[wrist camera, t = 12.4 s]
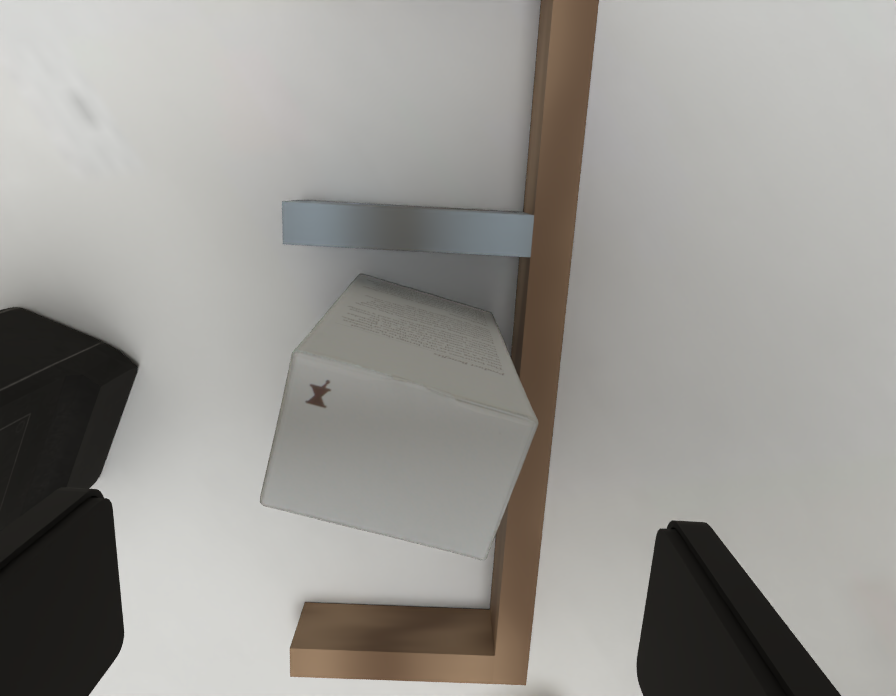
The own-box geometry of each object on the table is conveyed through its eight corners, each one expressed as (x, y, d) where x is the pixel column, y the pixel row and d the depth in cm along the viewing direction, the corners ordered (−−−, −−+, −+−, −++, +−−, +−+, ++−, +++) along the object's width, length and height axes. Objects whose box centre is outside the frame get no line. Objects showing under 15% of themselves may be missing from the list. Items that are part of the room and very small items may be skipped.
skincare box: (334, 364, 26) (247, 507, 14) (359, 271, 25) (288, 342, 13) (467, 402, 26) (488, 569, 15) (497, 312, 25) (544, 416, 14)
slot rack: (586, -51, 22) (608, -88, 19) (517, 636, 30) (525, 685, 27) (298, -70, 22) (276, -110, 19) (305, 628, 29) (290, 676, 26)
